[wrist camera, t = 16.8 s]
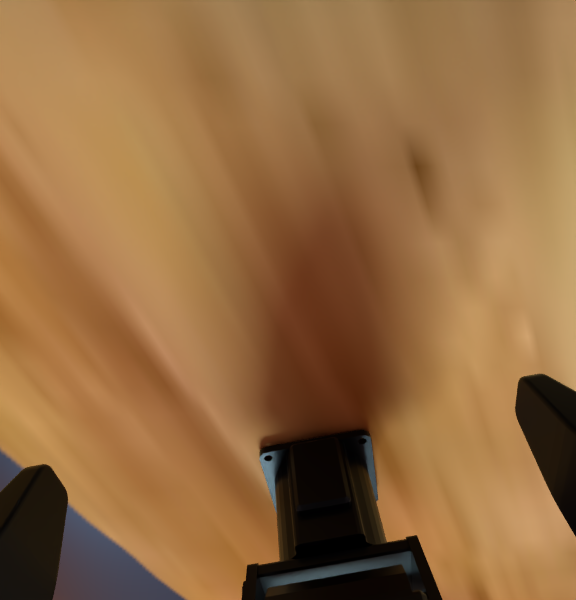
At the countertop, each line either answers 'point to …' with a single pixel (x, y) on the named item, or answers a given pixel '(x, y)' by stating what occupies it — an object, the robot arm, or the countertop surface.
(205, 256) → the countertop surface
